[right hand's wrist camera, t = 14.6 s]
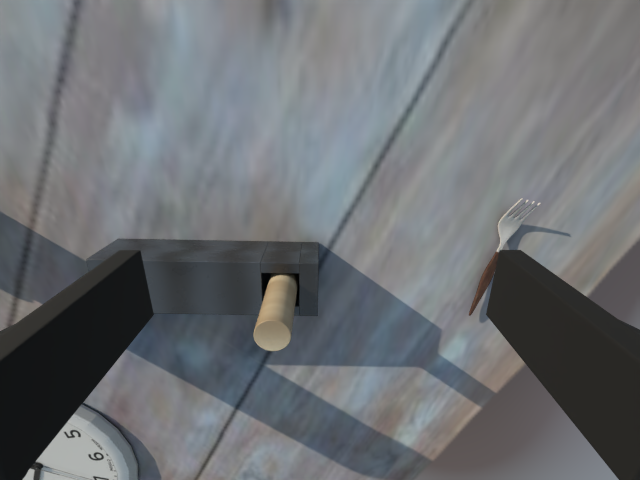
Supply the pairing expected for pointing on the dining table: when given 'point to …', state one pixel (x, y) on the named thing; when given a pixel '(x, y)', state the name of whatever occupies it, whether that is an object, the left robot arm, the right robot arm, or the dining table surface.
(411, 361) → the dining table surface
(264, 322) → the peg
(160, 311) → the peg board
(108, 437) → the wall clock
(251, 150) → the dining table surface
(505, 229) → the fork
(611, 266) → the dining table surface
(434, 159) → the dining table surface
